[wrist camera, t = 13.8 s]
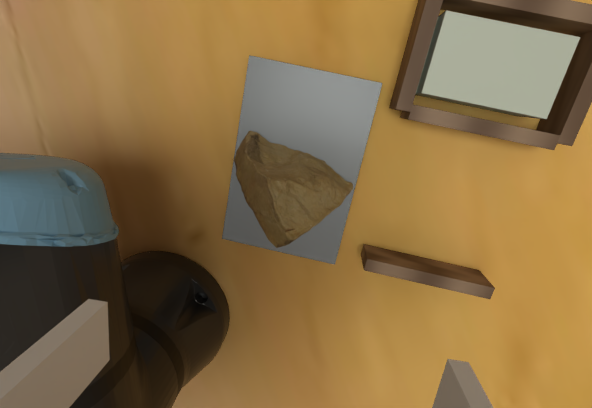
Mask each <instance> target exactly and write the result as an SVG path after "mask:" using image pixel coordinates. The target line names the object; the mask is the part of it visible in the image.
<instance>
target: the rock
mask: <svg viewBox="0 0 592 408" xmlns="http://www.w3.org/2000/svg"><path fill="white" fill-rule="evenodd" d="M234 162H235V165H236V177H237V180H238V181H239V184H240V186H241V190H242V192H243V194H244V197H245V200H246V202H247V204H248V206H249V207H250V208H251V209H252V210H253V212H254V215H255V217H256V219H257V220H258V222H259V224H260V226H261V228H262V230H263V231H264V233H265V235H266V237H267V239H268V240H269V241H270V242H271V243H272V244H273V245H274V246H275V247H276V248H279V247H282V246H286V245H288V244H290V243H291V242H293V241H294V240H296V239H297V238H299V237H300V236H301V235H303V234H305V233H306V232H308V231H309V230H311V229H312V228H313V227H314V226H316V225H317V224H319V223H320V222H321V221H322V220H323V219H324V218H325V217H326V216H327V215H329V214H330V213H331V212H332V211H333V210H335V209H336V208H337V207H339V206H340V205H341V204H342V203H343V201H344V200H345V198H346V196H347V195H348V194H350V192H351V190H353V184H352V183H351V182H347V181H345V180H344V179H343V178H342V177H341V176H340V175H339V174H337V173H336V172H335V171H334V170H333V169H332V168H331V167H330V166H329V165H327V164H326V162H325V161H323V160H320V159H317V158H315V157H314V156H312V155H310V154H308V153H303V152H301V151H298V150H293V149H290V148H288V147H286V146H284V145H280V144H274V143H270V142H269V141H267V140H266V139H265V138H264V137H262V136H261V135H260V134H258V133H257V132H253V131H249V132H248V133H247V135H246V136H245V138H244V139H243V141H242V142H241V144H240V146H239V148H238V150H237V151H236V155H235V157H234Z"/></svg>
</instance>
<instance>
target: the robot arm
mask: <svg viewBox="0 0 592 408" xmlns="http://www.w3.org/2000/svg"><path fill="white" fill-rule="evenodd" d="M118 234H119V229H118V226H117V225H116V224H115V222H114V221H113V218H112V214H111V210H110V206H109V202H108V198H107V194H106V190H105V186H104V184H103V181H102V179H101V178H100V176H99V175H98V174H97V173H96V172H95V171H94V170H93V169H91V168H90V167H89V166H87V165H85V164H83V163H80V162H78V161H75V160H71V159H66V158H60V157H52V156H42V155H29V154H11V153H0V408H171V407H172V405H173V403H174V401H175V399H176V397H177V395H178V394H179V392H180V390H181V388H182V387H184V386H185V385H186V384H187V383H188V382H189V381H190V380H191V379H192V378H193V377H195V376H196V375H197V374H198V373H199V372H200V371H201V370H202V369H203V368H204V367H205V366H207V365H208V364H209V363H210V362H211V361H212V360H213V358H214V357H215V356H216V354H217V353H218V351H219V349H220V347H221V345H222V343H223V341H224V338H225V336H226V334H227V331H228V326H229V309H228V304H227V301H226V298H225V296H224V294H223V292H222V290H221V288H220V286H219V285H218V283H217V282H216V281H215V279H214V278H213V277H212V276H211V275H210V274H209V273H208V272H207V271H206V270H205V269H203V268H202V267H201V266H199V265H198V264H196V263H195V262H193V261H191V260H189V259H187V258H185V257H183V256H180V255H177V254H173V253H169V252H162V251H150V252H143V253H139V254H136V255H133V256H131V257H129V258H127V259H125V260H124V261H122V262H121V260H120V255H119V250H118V244H117V239H116V237H117V236H118ZM432 408H493V406H492V404H491V403H490V401H489V399H488V397H487V395H486V393H485V392H484V390H483V388H482V386H481V384H480V382H479V381H478V379H477V377H476V375H475V373H474V371H473V370H472V368H471V366H470V364H469V362H463V361H457V360H451V359H448V360H447V363H446V366H445V369H444V372H443V375H442V379H441V382H440V385H439V388H438V391H437V394H436V398H435V401H434V404H433V407H432Z"/></svg>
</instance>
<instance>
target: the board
mask: <svg viewBox="0 0 592 408" xmlns="http://www.w3.org/2000/svg"><path fill="white" fill-rule="evenodd" d="M381 86H382V83H379V82H374V81H369V80H365V79H360V78H355V77H350V76H346V75H341V74H336V73H331V72H326V71H322V70H317V69H312V68H307V67H302V66H298V65H293V64H288V63H283V62H279V61H274V60H269V59H264V58H259V57H255V56H250V55H249V61H248V68H247V75H246V82H245V88H244V95H243V102H242V108H241V115H240V122H239V129H238V135H237V142H236V149H235V155H236V151H237V150H238V148H239V146H240V144H241V142H242V141H243V139H244V138H245V136H246V135H247V133H248V132H249V131H253V132H257V133H258V134H260V135H261V136H262V137H264V138H265V139H266V140H267V141H269V142H270V143H274V144H280V145H284V146H286V147H288V148H290V149H293V150H298V151H301V152H303V153H308V154H310V155H312V156H314V157H315V158H317V159H320V160H323V161H325V162H326V164H327V165H329V166H330V167H331V168H332V169H333V170H334V171H335V172H336V173H337V174H339V175H340V176H341V177H342V178H343V179H344V180H345V181H347V182H351V183H352V184H353V190H351V192H350V194H348V195H347V196H346V198H345V200H344V201H343V203H342V204H341V205H340V206H339V207H337V208H336V209H335V210H333V211H332V212H331V213H330V214H329V215H327V216H326V217H325V218H324V219H323V220H322V221H321V222H320V223H319V224H317V225H316V226H314V227H313V228H312V229H311V230H309V231H308V232H306V233H305V234H303V235H301V236H300V237H299V238H297V239H296V240H294V241H293V242H291V243H290V244H288V245H286V246H282V247H279V248H276V247H275V246H274V245H273V244H272V243H271V242H270V241H269V240H268V239H267V237H266V235H265V233H264V231H263V230H262V228H261V226H260V224H259V222H258V220H257V219H256V217H255V215H254V212H253V210H252V209H251V208H250V207H249V206H248V204H247V202H246V200H245V197H244V194H243V192H242V190H241V186H240V184H239V181H238V180H237V177H236V165H235V162H233V169H232V176H231V183H230V189H229V196H228V203H227V209H226V216H225V223H224V230H223V236H222V239H226V240H230V241H235V242H239V243H243V244H248V245H252V246H256V247H261V248H265V249H269V250H274V251H278V252H282V253H287V254H291V255H296V256H300V257H304V258H309V259H313V260H317V261H322V262H326V263H330V264H335V262H336V258H337V254H338V250H339V246H340V243H341V239H342V235H343V231H344V227H345V224H346V220H347V216H348V212H349V208H350V205H351V201H352V197H353V193H354V189H355V185H356V182H357V178H358V174H359V170H360V166H361V163H362V159H363V155H364V151H365V147H366V144H367V140H368V136H369V132H370V128H371V125H372V121H373V117H374V113H375V109H376V106H377V102H378V98H379V94H380V90H381ZM234 157H235V156H234Z"/></svg>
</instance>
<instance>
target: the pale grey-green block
mask: <svg viewBox="0 0 592 408" xmlns="http://www.w3.org/2000/svg"><path fill="white" fill-rule="evenodd" d="M579 40H580V37H577V36H572V35H567V34H562V33H557V32H552V31H547V30H542V29H537V28H532V27H527V26H522V25H517V24H512V23H507V22H502V21H497V20H492V19H487V18H482V17H477V16H472V15H467V14H462V13H457V12H452V11H447V10H446V11H445V12H444V13H442V14H441V15H440V16H439V17H438V19H437V23H436V26H435V29H434V33H433V36H432V40H431V43H430V47H429V50H428V53H427V57H426V60H425V64H424V67H423V70H422V74H421V77H420V81H419V84H418V88H417V91H416V94H415V95H419V96H423V97H428V98H433V99H438V100H443V101H447V102H452V103H457V104H462V105H466V106H471V107H476V108H481V109H486V110H490V111H495V112H500V113H505V114H509V115H514V116H522V117H530V118H540V119H547V117H548V115H549V112H550V110H551V108H552V105H553V103H554V100H555V98H556V95H557V93H558V91H559V88H560V86H561V83H562V81H563V78H564V76H565V74H566V71H567V69H568V66H569V64H570V61H571V59H572V57H573V54H574V52H575V49H576V47H577V44H578V42H579Z"/></svg>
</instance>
